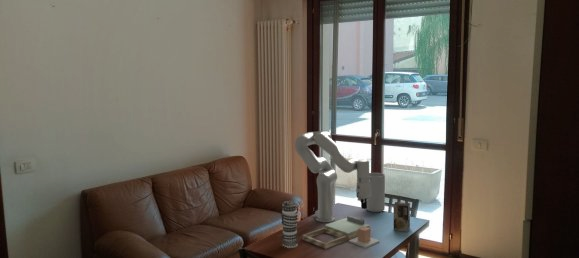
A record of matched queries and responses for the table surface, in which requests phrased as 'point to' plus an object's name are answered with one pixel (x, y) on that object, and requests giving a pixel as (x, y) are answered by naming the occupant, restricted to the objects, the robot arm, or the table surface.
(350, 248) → the table surface
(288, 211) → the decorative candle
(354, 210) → the table surface
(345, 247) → the table surface
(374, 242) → the grey mat
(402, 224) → the coffee box
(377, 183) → the cylinder vase
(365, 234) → the terracotta block
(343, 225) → the sliding lid
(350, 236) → the well frame
